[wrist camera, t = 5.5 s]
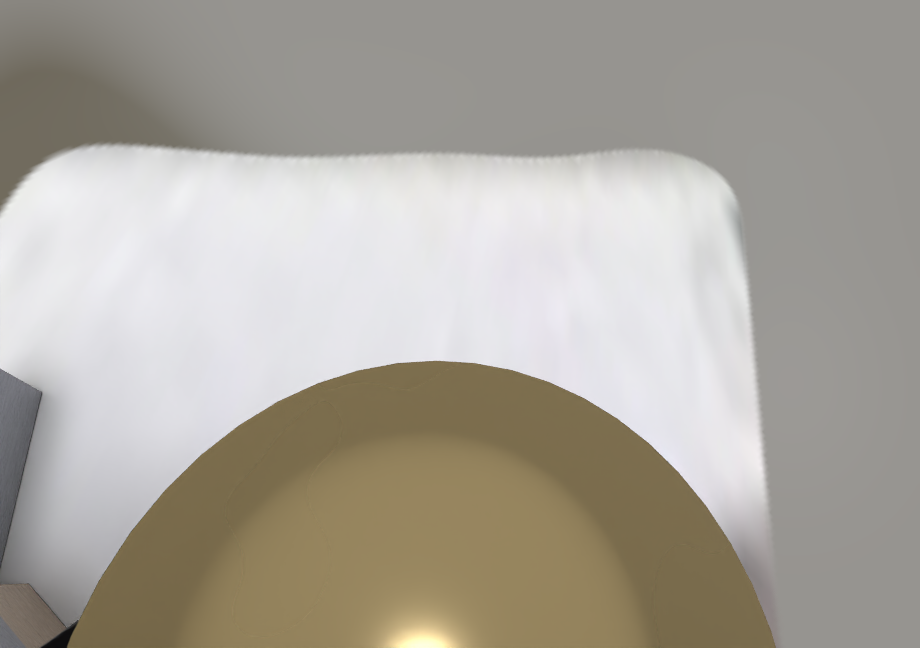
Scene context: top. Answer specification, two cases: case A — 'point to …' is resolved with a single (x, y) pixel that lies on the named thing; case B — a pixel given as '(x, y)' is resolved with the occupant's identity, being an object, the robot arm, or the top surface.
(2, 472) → the bronze hinge
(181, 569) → the hinge pin
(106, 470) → the top surface
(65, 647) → the robot arm
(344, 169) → the top surface
